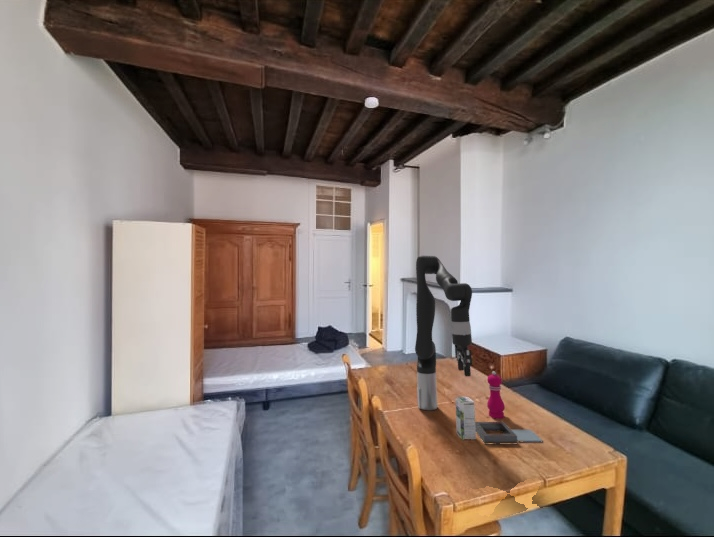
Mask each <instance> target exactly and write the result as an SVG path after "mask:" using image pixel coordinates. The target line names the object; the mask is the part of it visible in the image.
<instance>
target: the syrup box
mask: <svg viewBox="0 0 714 537" xmlns="http://www.w3.org/2000/svg"><path fill="white" fill-rule="evenodd" d="M475 406H476V405H475V401H473V400H472V399H471V398H470V397H469V396H456V397H455V422H456V424H455V426H456V435H458V437H459V438H460V439H461V440H462V441H465V440H464V439H471V440H476V439H477V436H476V434H477V433H476V429H475V422H476V409H475Z"/></svg>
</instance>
